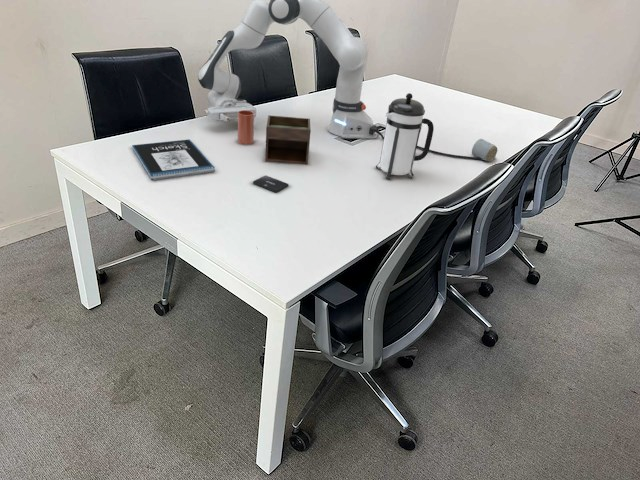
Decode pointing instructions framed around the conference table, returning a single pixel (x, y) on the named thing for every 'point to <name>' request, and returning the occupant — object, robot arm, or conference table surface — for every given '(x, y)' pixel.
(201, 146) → the conference table surface
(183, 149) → the sketchbook
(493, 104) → the conference table surface
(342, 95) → the robot arm
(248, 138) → the tumbler
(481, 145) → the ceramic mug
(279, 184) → the solid state drive
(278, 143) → the storage cube
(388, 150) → the coffee press
